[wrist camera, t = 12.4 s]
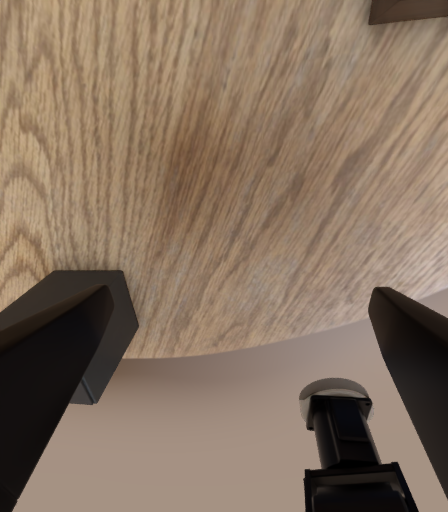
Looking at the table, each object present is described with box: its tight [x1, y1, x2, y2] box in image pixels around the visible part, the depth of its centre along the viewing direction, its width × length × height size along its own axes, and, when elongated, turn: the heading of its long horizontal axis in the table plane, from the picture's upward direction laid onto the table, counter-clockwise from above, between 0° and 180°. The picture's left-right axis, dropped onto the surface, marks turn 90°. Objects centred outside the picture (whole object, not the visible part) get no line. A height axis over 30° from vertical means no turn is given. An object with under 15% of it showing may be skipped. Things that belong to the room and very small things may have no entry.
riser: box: [0, 271, 139, 405], centre depth 22 cm, size 7×7×8 cm
